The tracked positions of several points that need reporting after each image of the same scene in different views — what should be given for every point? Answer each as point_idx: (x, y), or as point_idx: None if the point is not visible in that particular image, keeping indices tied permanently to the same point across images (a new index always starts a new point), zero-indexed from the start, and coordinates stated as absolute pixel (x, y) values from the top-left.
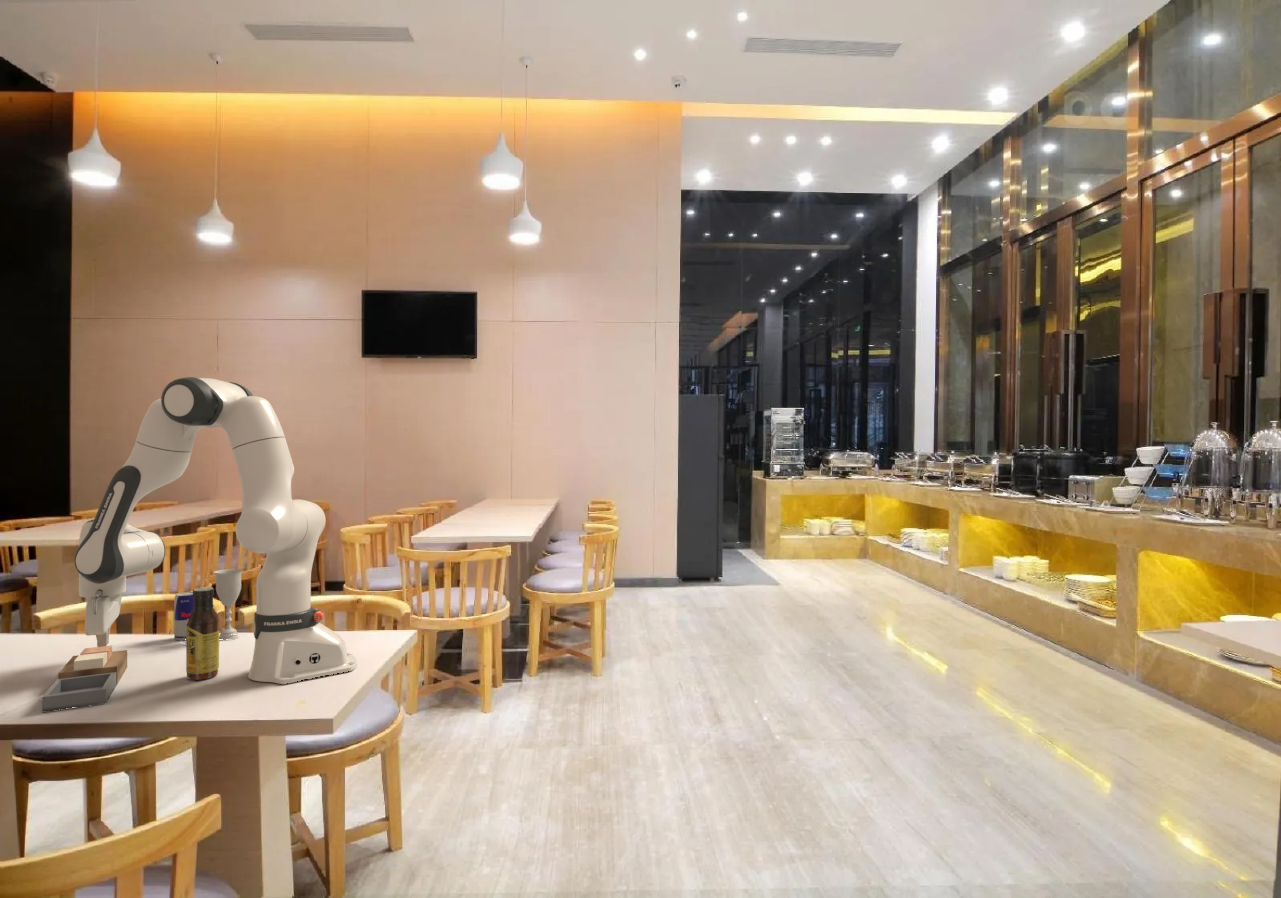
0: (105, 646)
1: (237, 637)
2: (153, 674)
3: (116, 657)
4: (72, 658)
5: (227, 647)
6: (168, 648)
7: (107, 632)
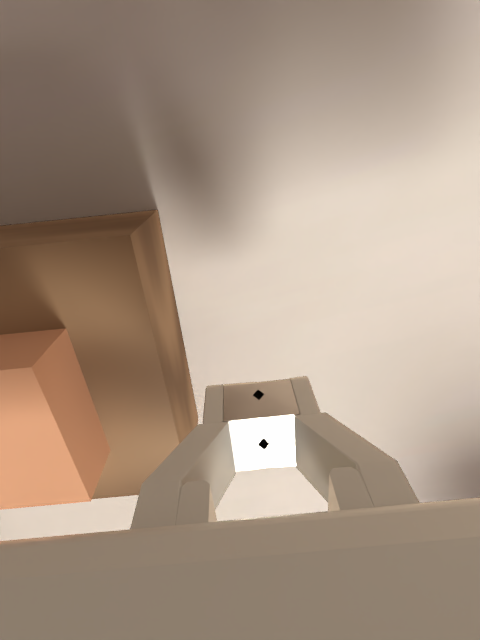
0: (66, 477)
1: None
2: (55, 511)
3: None
4: (45, 254)
5: None
6: (455, 483)
7: (322, 489)
